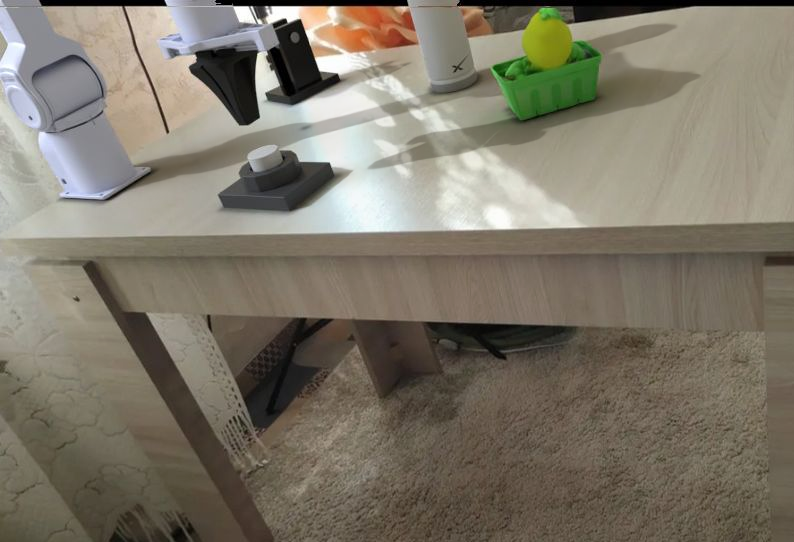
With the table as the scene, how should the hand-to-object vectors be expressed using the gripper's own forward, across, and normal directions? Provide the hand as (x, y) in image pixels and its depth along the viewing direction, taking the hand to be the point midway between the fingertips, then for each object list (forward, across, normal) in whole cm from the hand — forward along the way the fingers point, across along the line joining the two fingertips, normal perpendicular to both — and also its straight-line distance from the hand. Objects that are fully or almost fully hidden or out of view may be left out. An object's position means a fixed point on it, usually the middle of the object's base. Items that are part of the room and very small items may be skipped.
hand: (249, 121), depth 81 cm
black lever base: (+8, -21, +30) cm, 38 cm away
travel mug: (+8, +6, +30) cm, 32 cm away
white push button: (+5, 0, 0) cm, 5 cm away
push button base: (+8, 0, 0) cm, 8 cm away
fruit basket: (+8, +24, +22) cm, 34 cm away
